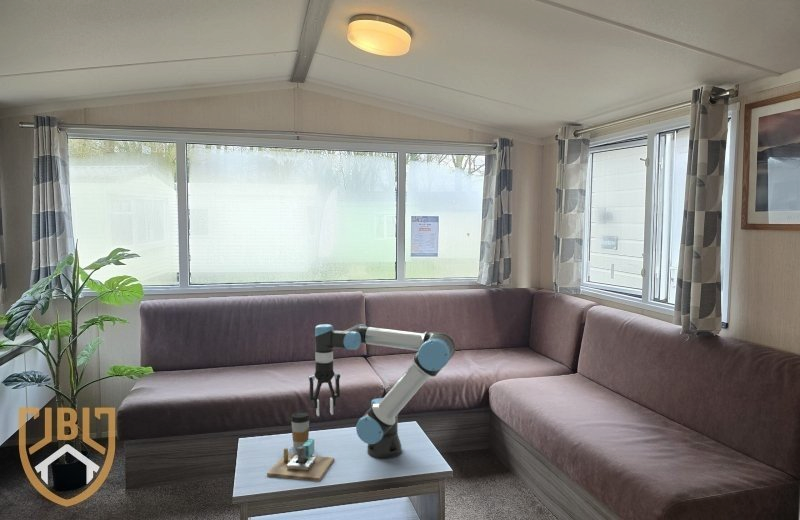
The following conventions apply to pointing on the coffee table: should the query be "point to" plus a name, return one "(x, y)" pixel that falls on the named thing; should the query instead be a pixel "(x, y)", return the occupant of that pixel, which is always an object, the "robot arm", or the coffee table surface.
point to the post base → (312, 474)
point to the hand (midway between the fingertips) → (324, 414)
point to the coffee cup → (300, 428)
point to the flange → (308, 459)
